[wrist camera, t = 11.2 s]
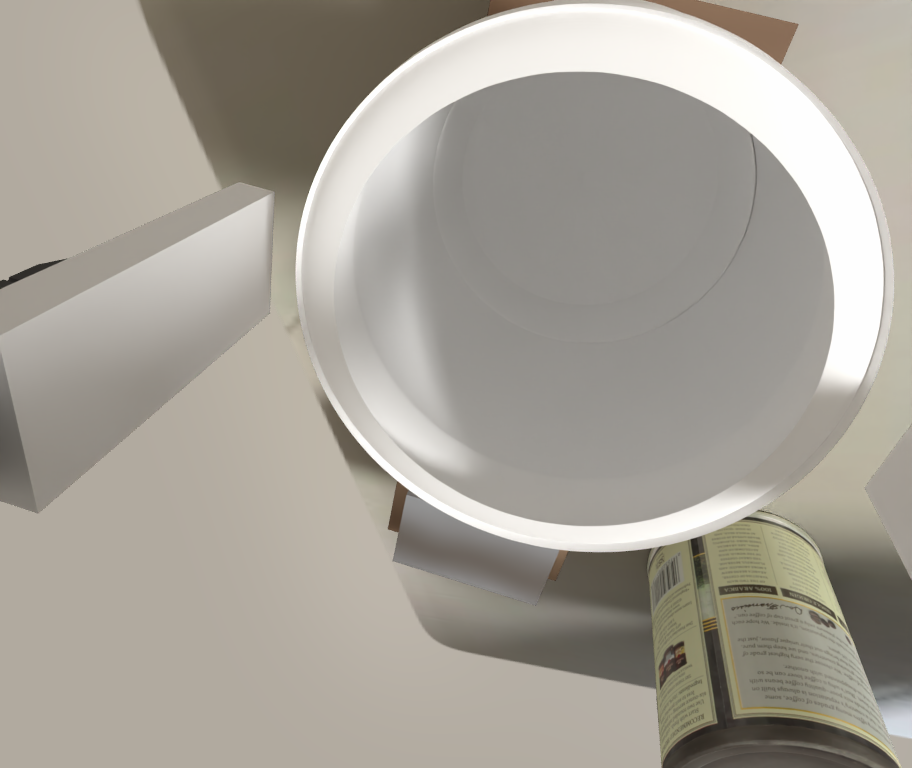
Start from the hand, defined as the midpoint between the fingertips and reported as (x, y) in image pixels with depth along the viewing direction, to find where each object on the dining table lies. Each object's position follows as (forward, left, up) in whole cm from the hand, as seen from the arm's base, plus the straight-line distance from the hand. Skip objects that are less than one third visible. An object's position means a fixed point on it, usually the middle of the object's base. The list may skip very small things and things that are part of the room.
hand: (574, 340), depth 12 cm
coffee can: (-16, +22, -19) cm, 33 cm away
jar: (0, -1, -14) cm, 14 cm away
